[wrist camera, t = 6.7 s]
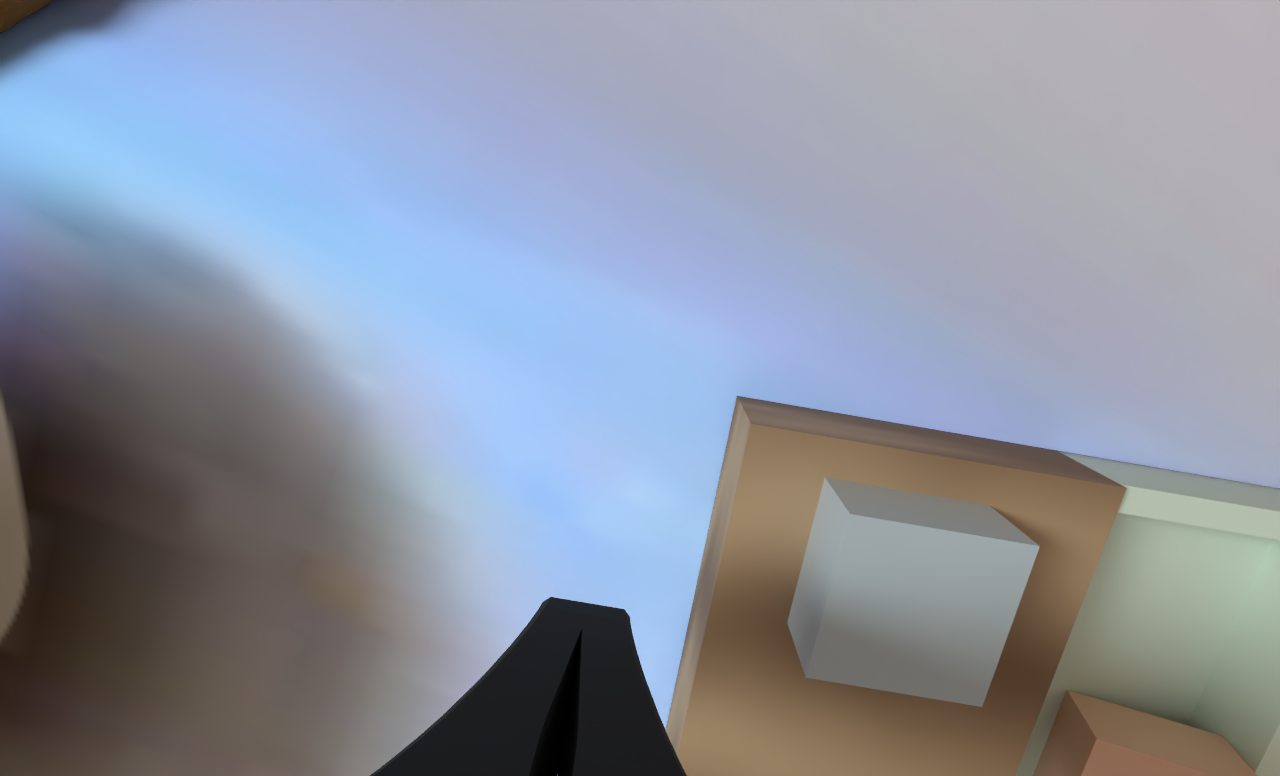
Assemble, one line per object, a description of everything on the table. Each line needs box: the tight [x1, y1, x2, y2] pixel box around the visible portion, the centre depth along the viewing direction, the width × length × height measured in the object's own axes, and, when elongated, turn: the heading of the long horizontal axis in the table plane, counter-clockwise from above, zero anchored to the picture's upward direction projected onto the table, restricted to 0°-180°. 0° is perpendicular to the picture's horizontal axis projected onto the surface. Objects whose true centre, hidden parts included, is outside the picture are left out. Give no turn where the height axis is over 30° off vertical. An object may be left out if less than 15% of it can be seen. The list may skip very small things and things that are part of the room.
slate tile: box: [787, 478, 1040, 707], centre depth 14 cm, size 4×4×2 cm
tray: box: [1015, 451, 1280, 776], centre depth 17 cm, size 12×7×2 cm, turn 170°
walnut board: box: [666, 396, 1127, 776], centre depth 17 cm, size 12×9×3 cm
